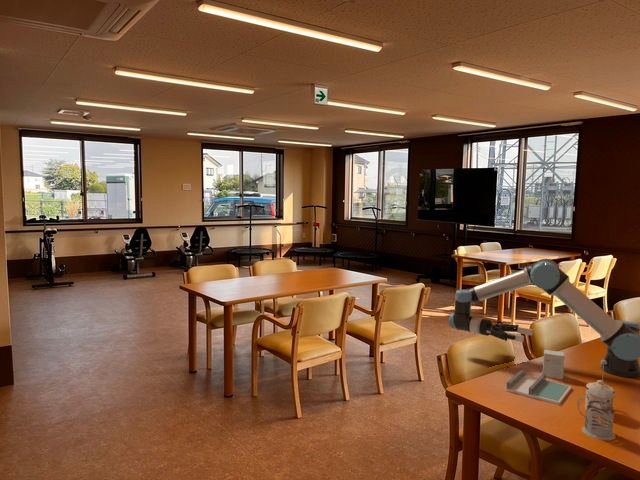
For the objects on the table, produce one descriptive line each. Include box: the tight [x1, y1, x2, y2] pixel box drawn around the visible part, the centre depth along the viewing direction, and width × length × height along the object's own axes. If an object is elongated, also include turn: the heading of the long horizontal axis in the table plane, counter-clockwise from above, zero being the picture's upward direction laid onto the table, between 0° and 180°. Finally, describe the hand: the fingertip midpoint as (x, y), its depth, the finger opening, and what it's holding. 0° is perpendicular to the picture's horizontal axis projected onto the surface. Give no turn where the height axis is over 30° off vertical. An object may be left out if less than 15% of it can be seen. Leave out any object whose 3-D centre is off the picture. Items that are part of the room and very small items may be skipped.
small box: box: [542, 349, 565, 380], centre depth 210 cm, size 8×6×10 cm
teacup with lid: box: [584, 379, 615, 415], centre depth 177 cm, size 12×9×12 cm
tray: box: [506, 368, 572, 405], centre depth 195 cm, size 20×20×4 cm
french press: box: [576, 359, 617, 441], centre depth 160 cm, size 10×12×25 cm
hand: (528, 335), depth 216 cm, fingers open, 13 cm apart
